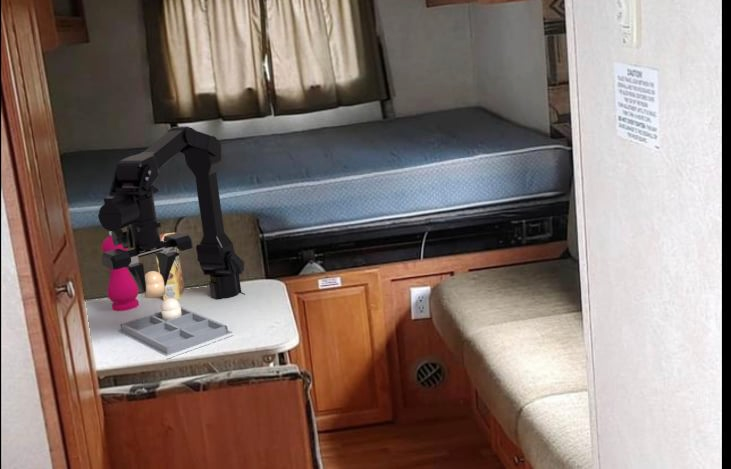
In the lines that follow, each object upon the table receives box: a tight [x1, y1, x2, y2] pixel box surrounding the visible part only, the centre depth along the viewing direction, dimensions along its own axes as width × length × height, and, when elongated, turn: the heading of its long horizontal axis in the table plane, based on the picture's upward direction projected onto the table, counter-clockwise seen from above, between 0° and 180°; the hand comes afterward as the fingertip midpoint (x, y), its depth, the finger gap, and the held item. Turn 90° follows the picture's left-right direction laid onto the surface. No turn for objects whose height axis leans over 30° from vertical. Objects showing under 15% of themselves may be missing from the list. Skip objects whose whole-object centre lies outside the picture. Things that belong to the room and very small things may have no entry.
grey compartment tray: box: [117, 306, 234, 360], centre depth 209 cm, size 16×23×2 cm
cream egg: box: [160, 298, 182, 321], centre depth 216 cm, size 4×4×5 cm
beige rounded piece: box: [143, 270, 166, 299], centre depth 204 cm, size 4×4×5 cm
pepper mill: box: [101, 231, 140, 312], centre depth 227 cm, size 7×7×20 cm
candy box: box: [155, 232, 185, 301], centre depth 233 cm, size 9×4×15 cm, turn 2°
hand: (154, 288), depth 204 cm, fingers closed on beige rounded piece, 4 cm apart
